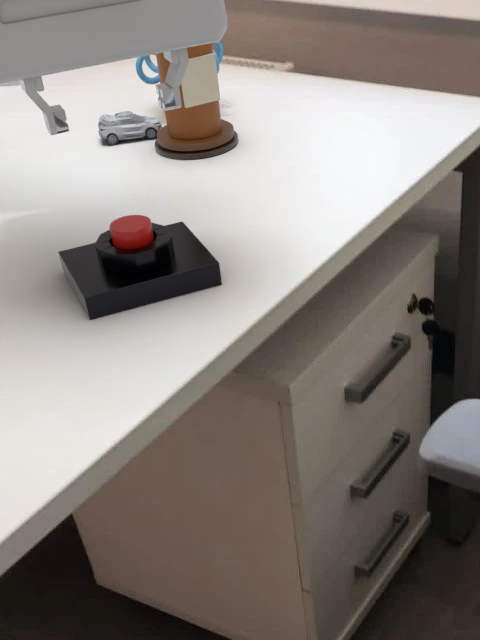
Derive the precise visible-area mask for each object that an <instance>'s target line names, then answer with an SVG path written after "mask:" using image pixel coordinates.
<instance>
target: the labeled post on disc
mask: <svg viewBox="0 0 480 640" xmlns="http://www.w3.org/2000/svg"><path fill="white" fill-rule="evenodd" d="M213 50H214V49H213V43H209V44H204V45H199V46H193V47H188V48H187V51H188V59H189V64H188V66H187V69H186V72H185V75H184V77H183V80H182V83H181V86H179V90H180V97H181V103H182V106H181V108H177V109H172V110H167V111H165V112H164V115H165V122H166V125H163V126H162V127H163V128H161V129H160V130H159V131H158V132H157V135H156V139H157V141H158V144H159V145H160V146H161V147H163V148H165V149H169V150H174V151H200V150H206V149H211V148H214V147H218V146H220V145H223V144H225V143H227V142H229V141H230V140H231V139H232V138H233V137H234V131H235V129H234V125H233V124H232V123H231V122H230V121H228V120H225V119H221V118H222V117H221V109H220V102H219V101H220V100H221V93H220V84H219V74H218V75H217V66H216V57H215V53H216V52H215V53H213ZM155 59H156V66H157V67H158V71H159V73H158V74H159V78H160V82H159V84H161V83H165V79H166V75H167V72H168V69H169V65H170V62H169V61H168V60H167V59H165V58H164V53H157V54H156V55H155Z"/></svg>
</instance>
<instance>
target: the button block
mask: <svg viewBox="0 0 480 640" xmlns="http://www.w3.org/2000/svg"><path fill="white" fill-rule="evenodd" d="M151 224H152V229H153V235H154V241H153V242H152V243H150V244H148V245H147V246H143V247H139V248H135V249H119V248H116V247H114V245H113V241H112V236H111V232H110V228H109V229H108V230H105V231H104V232H102V233H100V234H99V236H98V238H97V239H96V240H95V242H93V243H88V244H84V245H80V246H76V247H71V248H68V249H64V250H60V251H58V257H59V261H60V265H61V269H62V273H63V274H64V276H65V278H66V280H67V282H68V283H69V286H70V288H71V289H72V291H73V292H74V295H75V296H76V298H77V299H78V301H79V303H80V305H81V307H82V309H83V311H84V313H85V314H86V316H87V317H88V320H89V321H92V320H97V319H99V318H104V317H107V316H111V315H115V314H119V313H122V312H126V311H129V310H133V309H137V308H142V307H144V306H145V307H146V306H148V305H152V304H155V303H159V302H163V301H167V300H170V299H171V300H172V299H174V298H178V297H181V296H185V295H189V294H192V293H197V292H200V291H204V290H207V289H212V288H214V287H219V286H222V285H223V281H222V273H221V266H220V265H221V264H220V262H219V260H218V259H216V257H215V256H214V255H213V254H212V253H211V252H210V251H209V250H208V248H207V247H206V246H205V245H204V244H203V243H202V241H200V239H199V238H198V237H197V236H196V235H195V234H194V232H193V231H191V229H190V228H189V227H188V225H186V224H185V222H184V221H178V222H175V223H170V224H165V225H163V224H159V223H156V222H152V221H151Z"/></svg>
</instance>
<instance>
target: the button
mask: <svg viewBox="0 0 480 640" xmlns="http://www.w3.org/2000/svg"><path fill="white" fill-rule="evenodd" d="M151 222H152V220H151V218H150V217H149V216H147V215H140V214H129V215H125V216H120V217H118V218H116V219H114V220H113V221H112V222H111V223H110V224H109V229H110V232H111V236H112V241H113V245H114V247H116V248H119V249H135V248H139V247H143V246H147V245H148V244H150V243H152V242H153V241H154V235H153V229H152V224H151Z"/></svg>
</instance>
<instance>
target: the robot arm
mask: <svg viewBox="0 0 480 640" xmlns="http://www.w3.org/2000/svg"><path fill="white" fill-rule="evenodd" d="M228 25H229V24H228V15H227V10H226V5H225V0H0V85H3V84H7V83H8V84H9V83H12V82H19V83H20V88H21V89H22V90H23V91H24V93H25V94H26V96H28V98H29V99H30V100H31V101H32V102H33V103H34V104H35V105H36V107H38V109H39V110H40V111H41V112H42V115H43V120H44V124H45V128H46V130H47V132H48V134H49V136H56V135H60V134H63V133H64V134H65V133H68V132H70V127H69V124H68V123H67V119H68V118H67V114H66V110H65V109H64V108H63V107H62V105H60V104H54V105H49V104H48V102H47V101H46V100H45V99H44V98H43V97H42V96H41V95H40V93H39V92H43V91H45V87H44V86H45V85H44V82H43V77H45V76H49V75H54V74H60V73H64V72H70V71H75V70H80V69H85V68H90V67H96V66H100V65H106V64H111V63H117V62H121V61H127V60H131V59H137V58H138V57H142V56H147V55H149V56H153V54H157V53H164V58H165V59H167V60H168V61H169V62H170V65H169V69H168V72H167V75H166V79H165V83H161V84H160V83H157V84H155V90H156V94H157V95H158V97H157V103H158V105H159V108H160V109H161V110H162V111H163V112H164V111H167V110H172V109H177V108H181V106H182V103H181V97H180V90H179V86H181V83H182V80H183V77H184V75H185V72H186V69H187V66H188V64H189V59H188V51H187V48H188V47H193V46H199V45H204V44H209V43H212V44H214V42H218V41H220V42H221V41H222V39H223V37H224V35H225V33H226V31H227V29H228Z"/></svg>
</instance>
